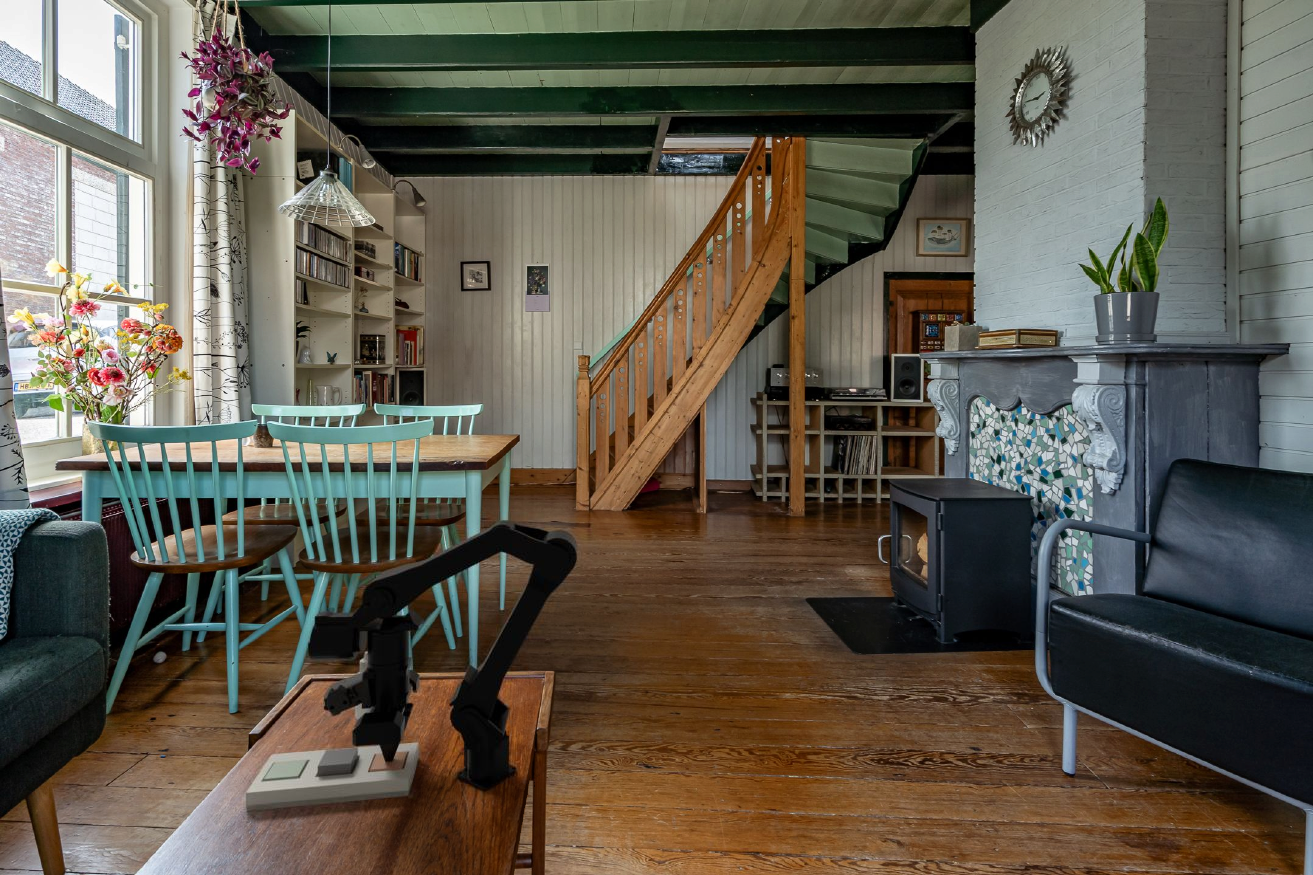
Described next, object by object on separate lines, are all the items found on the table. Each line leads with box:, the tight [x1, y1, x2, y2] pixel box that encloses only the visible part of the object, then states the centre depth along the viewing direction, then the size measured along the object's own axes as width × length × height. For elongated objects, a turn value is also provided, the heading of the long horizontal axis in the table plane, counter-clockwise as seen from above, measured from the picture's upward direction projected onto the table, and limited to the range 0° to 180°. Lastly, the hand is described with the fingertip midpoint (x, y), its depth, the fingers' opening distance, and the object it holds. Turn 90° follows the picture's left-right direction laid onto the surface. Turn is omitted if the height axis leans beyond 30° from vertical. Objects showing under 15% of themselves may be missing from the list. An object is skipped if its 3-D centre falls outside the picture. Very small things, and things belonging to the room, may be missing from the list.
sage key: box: [264, 759, 307, 781], centre depth 98 cm, size 4×4×2 cm
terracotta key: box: [370, 751, 407, 772], centre depth 101 cm, size 4×4×2 cm
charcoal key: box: [318, 747, 358, 777], centre depth 99 cm, size 4×4×2 cm
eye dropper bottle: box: [354, 651, 372, 722], centre depth 118 cm, size 4×6×12 cm
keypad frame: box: [245, 742, 420, 812], centre depth 99 cm, size 21×10×3 cm, turn 102°
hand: (389, 760), depth 101 cm, fingers closed, pressing on terracotta key
